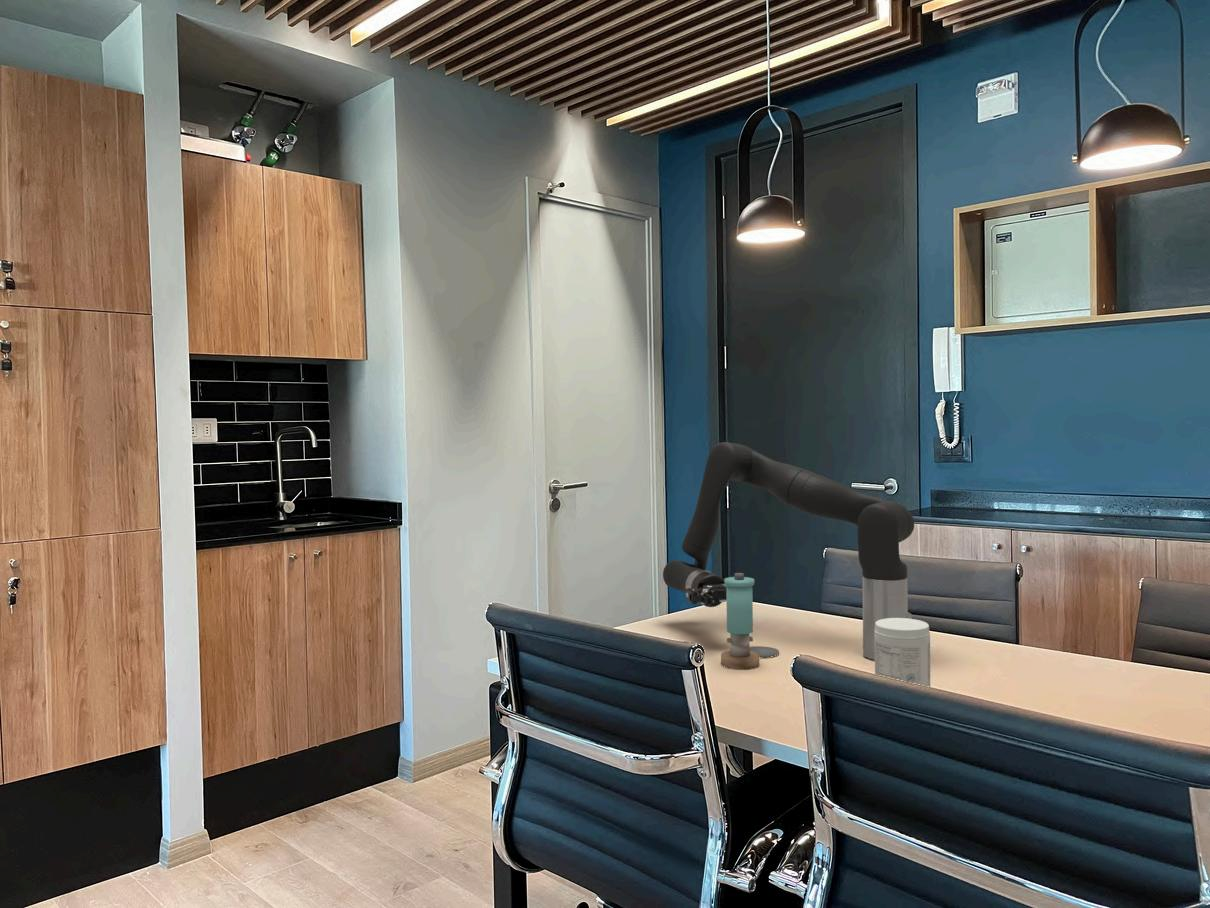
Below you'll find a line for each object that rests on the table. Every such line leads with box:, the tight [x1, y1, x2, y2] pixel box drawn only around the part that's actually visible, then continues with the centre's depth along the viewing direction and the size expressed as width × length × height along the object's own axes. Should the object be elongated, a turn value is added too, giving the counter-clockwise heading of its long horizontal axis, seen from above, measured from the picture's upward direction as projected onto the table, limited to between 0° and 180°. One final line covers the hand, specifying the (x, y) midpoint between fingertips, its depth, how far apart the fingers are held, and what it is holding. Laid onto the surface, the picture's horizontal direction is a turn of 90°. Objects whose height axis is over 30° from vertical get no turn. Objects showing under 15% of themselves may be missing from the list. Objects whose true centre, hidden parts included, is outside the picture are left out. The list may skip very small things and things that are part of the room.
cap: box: [723, 572, 755, 634], centre depth 190 cm, size 6×6×12 cm
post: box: [720, 633, 760, 670], centre depth 191 cm, size 8×8×7 cm
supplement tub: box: [874, 618, 931, 688], centre depth 162 cm, size 10×10×15 cm
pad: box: [750, 645, 780, 657], centre depth 199 cm, size 8×8×1 cm
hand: (730, 600), depth 196 cm, fingers open, 8 cm apart
